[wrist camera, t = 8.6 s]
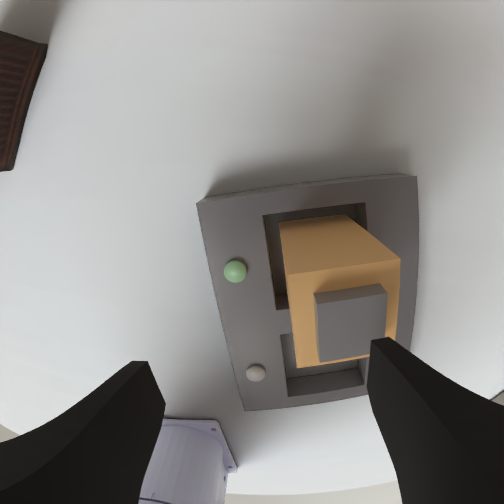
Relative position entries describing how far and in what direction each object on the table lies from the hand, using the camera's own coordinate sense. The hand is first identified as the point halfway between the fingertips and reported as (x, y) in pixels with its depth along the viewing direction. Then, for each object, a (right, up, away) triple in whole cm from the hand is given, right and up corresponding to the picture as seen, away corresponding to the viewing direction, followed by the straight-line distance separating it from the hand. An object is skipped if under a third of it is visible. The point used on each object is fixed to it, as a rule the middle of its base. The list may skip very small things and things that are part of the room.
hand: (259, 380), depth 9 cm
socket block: (+4, +1, +10) cm, 11 cm away
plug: (+4, +4, +9) cm, 10 cm away
